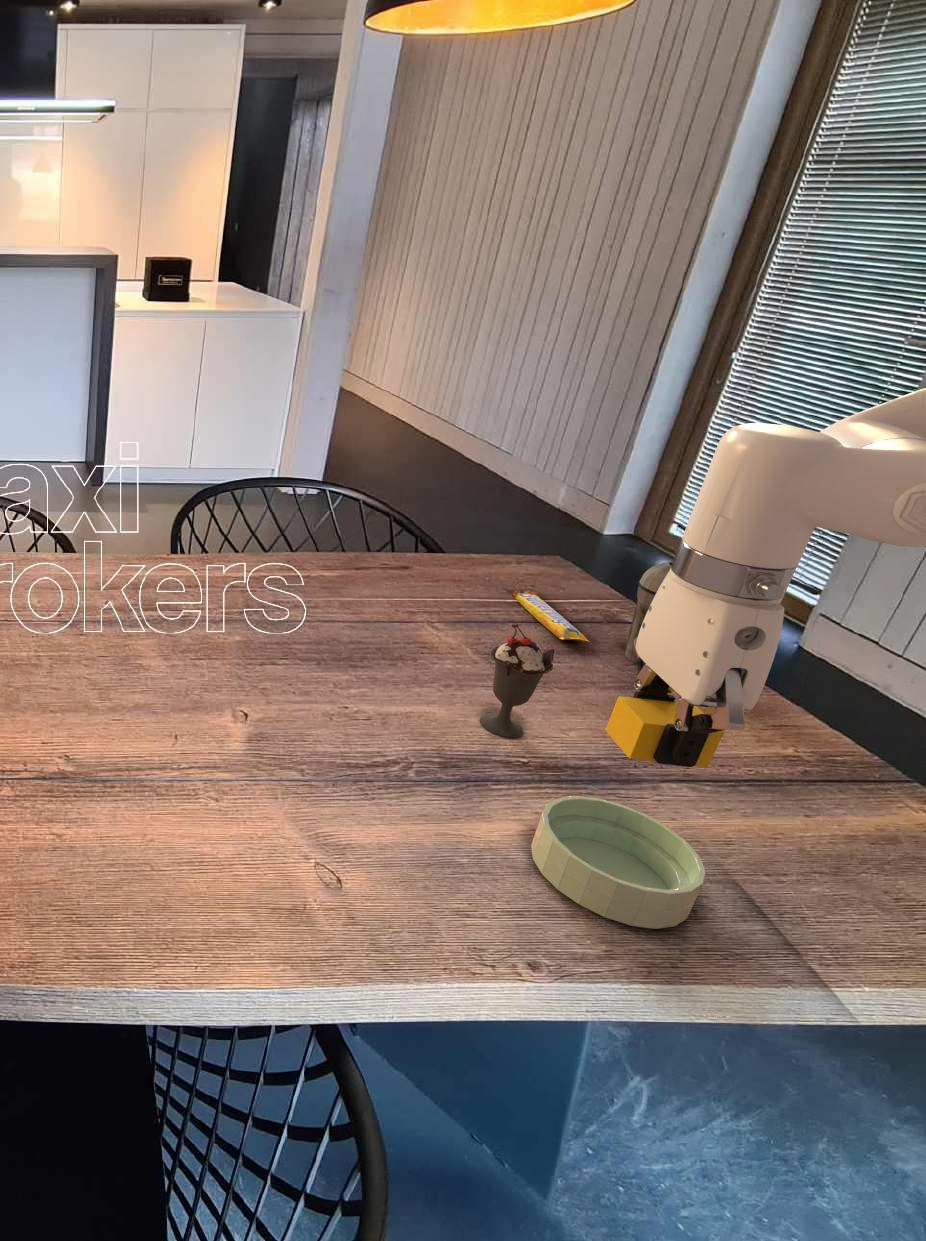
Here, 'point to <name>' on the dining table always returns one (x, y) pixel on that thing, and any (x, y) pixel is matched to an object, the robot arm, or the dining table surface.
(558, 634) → the candy bar
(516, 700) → the sundae
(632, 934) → the dining table surface
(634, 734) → the sponge
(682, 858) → the bowl
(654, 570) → the beverage cup
